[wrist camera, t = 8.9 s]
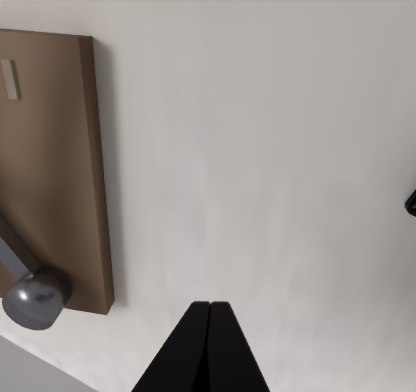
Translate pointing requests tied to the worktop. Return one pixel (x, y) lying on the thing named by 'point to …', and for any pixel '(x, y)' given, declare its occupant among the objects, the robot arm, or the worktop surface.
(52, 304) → the tuning lever
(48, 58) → the dial board
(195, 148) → the worktop surface
